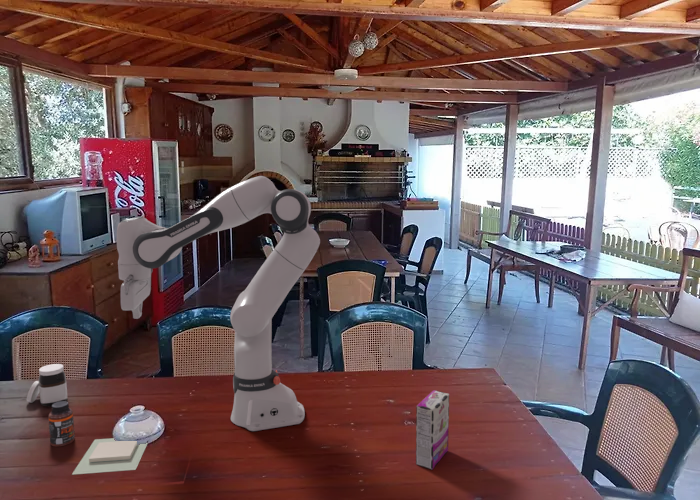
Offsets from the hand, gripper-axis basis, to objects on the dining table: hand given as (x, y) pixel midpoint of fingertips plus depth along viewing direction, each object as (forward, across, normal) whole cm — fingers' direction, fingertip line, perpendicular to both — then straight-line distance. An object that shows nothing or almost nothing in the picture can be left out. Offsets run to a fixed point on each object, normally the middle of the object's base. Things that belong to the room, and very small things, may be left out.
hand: (137, 317), depth 154 cm
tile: (+30, -19, +2) cm, 35 cm away
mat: (+31, -23, +2) cm, 39 cm away
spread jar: (+31, +14, +33) cm, 48 cm away
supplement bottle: (+31, -14, +18) cm, 39 cm away
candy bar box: (+32, -36, -81) cm, 94 cm away
